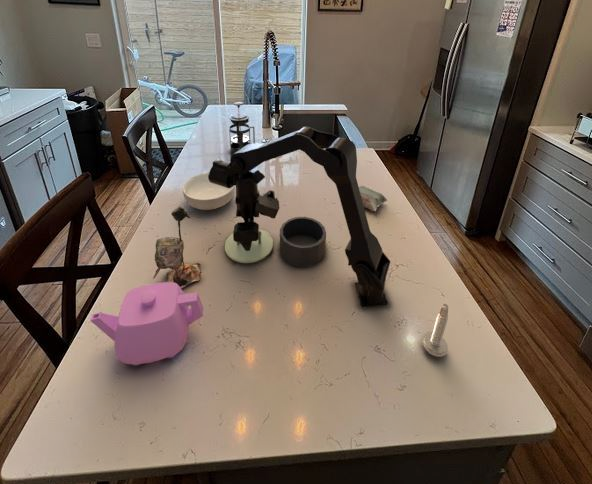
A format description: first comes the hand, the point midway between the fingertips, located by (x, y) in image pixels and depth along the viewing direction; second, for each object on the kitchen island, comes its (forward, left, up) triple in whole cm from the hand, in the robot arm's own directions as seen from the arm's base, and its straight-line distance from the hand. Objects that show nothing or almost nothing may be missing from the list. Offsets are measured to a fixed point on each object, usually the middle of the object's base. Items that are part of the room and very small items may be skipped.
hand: (248, 238), depth 92 cm
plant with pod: (-10, +17, -3) cm, 20 cm away
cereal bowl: (+22, +14, -3) cm, 26 cm away
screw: (-32, -39, -3) cm, 51 cm away
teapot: (-26, +18, -3) cm, 32 cm away
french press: (+60, +6, -3) cm, 60 cm away
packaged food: (+18, -39, -3) cm, 43 cm away
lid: (0, 0, -2) cm, 2 cm away
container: (-2, -15, -3) cm, 15 cm away
